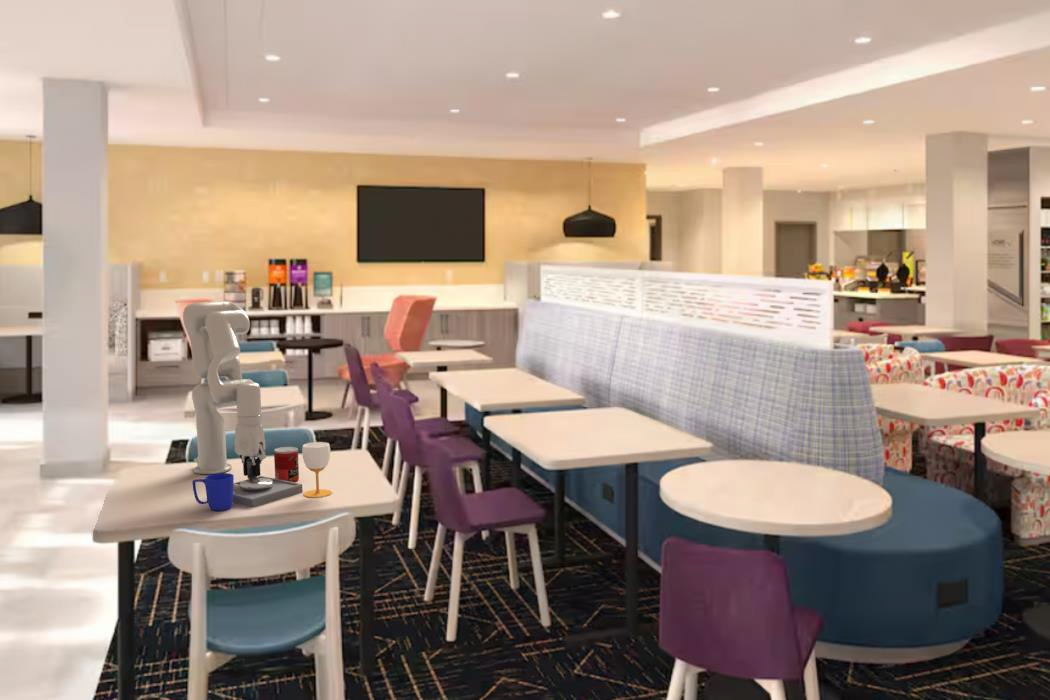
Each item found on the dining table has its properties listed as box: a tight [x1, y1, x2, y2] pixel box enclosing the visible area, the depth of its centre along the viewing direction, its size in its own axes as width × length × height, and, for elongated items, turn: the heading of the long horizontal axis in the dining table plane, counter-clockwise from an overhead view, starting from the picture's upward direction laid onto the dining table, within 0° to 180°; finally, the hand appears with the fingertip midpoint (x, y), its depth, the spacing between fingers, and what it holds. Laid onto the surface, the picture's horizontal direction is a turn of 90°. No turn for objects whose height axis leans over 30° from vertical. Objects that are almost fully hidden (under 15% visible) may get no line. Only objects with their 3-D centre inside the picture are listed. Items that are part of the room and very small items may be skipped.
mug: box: [192, 472, 235, 512], centre depth 268 cm, size 8×12×10 cm
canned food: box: [273, 446, 300, 483], centre depth 300 cm, size 8×8×11 cm
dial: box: [240, 457, 273, 490], centre depth 285 cm, size 14×10×7 cm
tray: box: [233, 475, 303, 508], centre depth 284 cm, size 20×20×3 cm
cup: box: [301, 441, 333, 499], centre depth 283 cm, size 9×9×16 cm
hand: (252, 475), depth 290 cm, fingers closed on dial, 3 cm apart
